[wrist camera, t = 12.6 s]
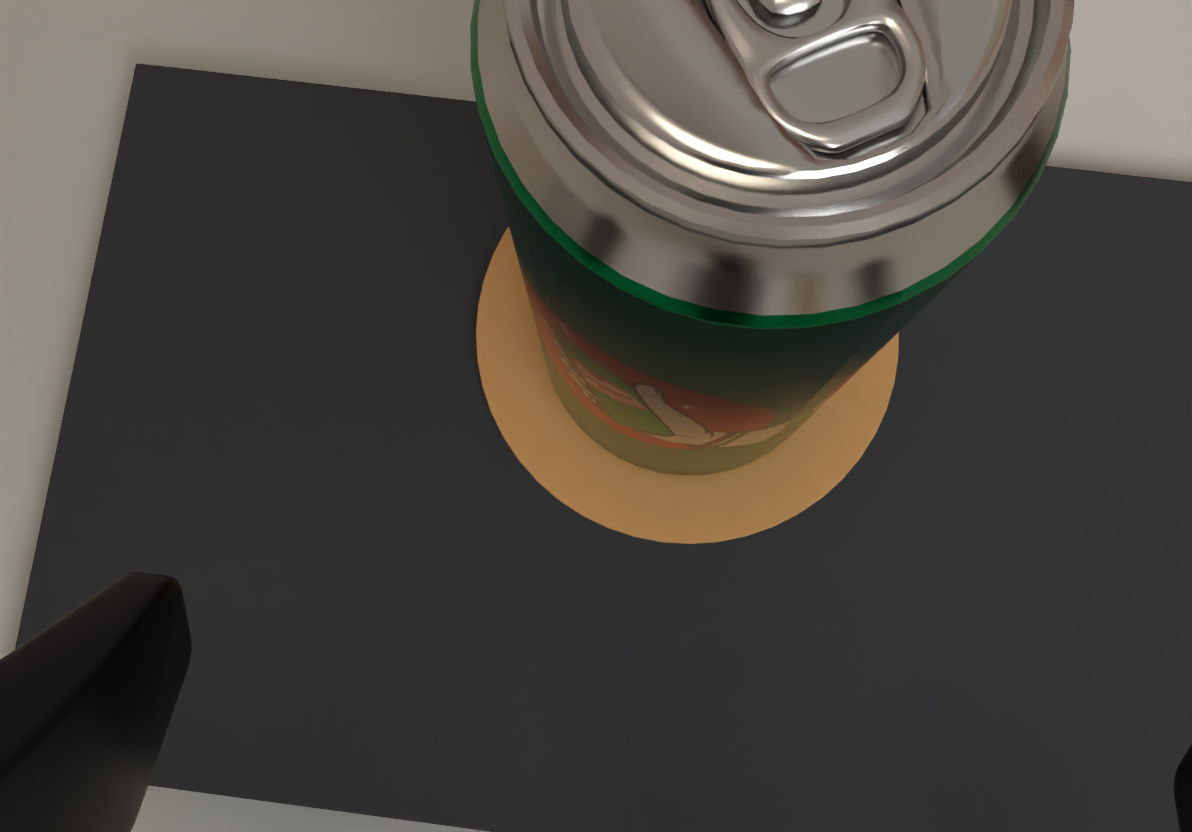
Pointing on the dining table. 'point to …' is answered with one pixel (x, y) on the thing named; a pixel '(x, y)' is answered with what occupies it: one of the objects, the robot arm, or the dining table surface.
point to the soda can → (751, 193)
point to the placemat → (617, 509)
